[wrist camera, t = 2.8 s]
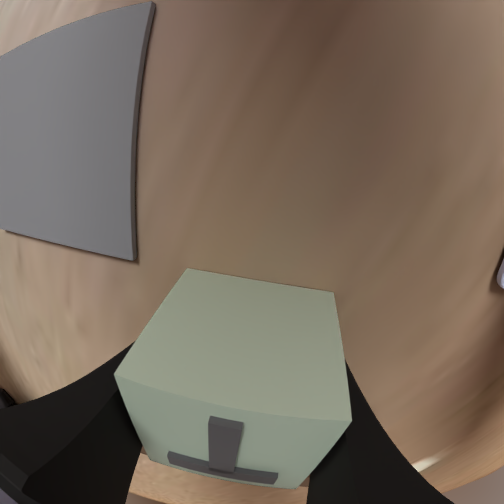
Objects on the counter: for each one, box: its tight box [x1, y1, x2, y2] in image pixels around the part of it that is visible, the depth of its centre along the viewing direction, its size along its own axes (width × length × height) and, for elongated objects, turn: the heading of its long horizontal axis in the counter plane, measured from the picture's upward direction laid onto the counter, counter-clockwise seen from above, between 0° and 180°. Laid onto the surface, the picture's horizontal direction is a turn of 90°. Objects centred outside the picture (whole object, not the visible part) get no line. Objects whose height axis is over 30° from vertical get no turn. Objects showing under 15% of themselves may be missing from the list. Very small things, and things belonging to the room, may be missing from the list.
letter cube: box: [114, 268, 352, 489], centre depth 8 cm, size 5×5×5 cm
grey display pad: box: [0, 1, 156, 261], centre depth 8 cm, size 9×9×1 cm
